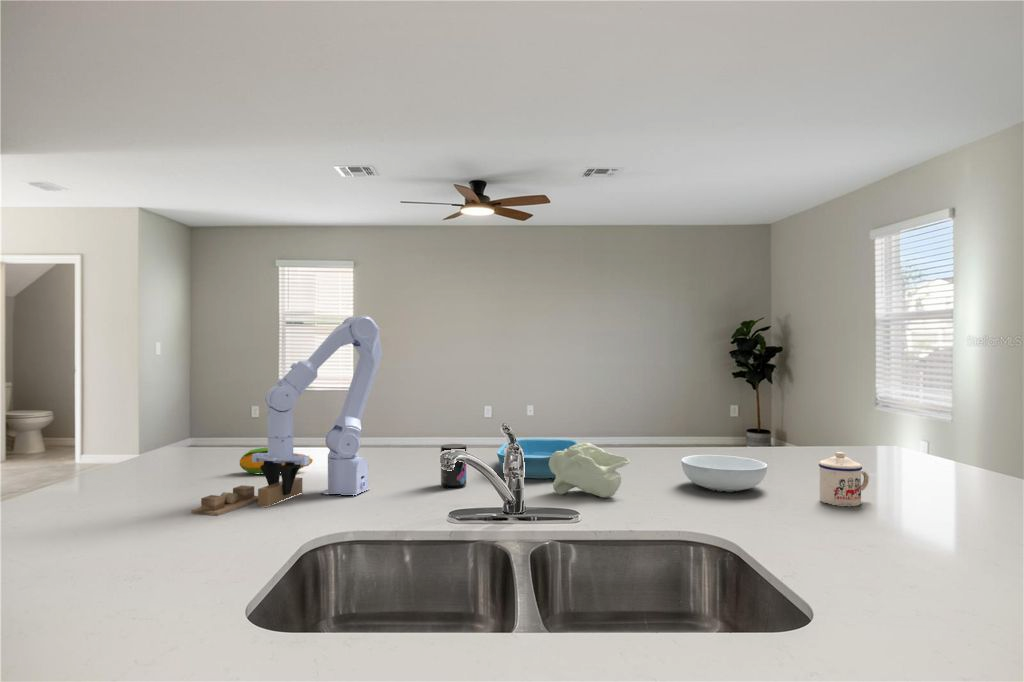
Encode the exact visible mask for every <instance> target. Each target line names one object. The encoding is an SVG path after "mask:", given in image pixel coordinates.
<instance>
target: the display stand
mask: <svg viewBox="0 0 1024 682" xmlns="http://www.w3.org/2000/svg"><path fill="white" fill-rule="evenodd" d="M200 499H201V500H200V503H201V504H200V507H197V508H194V509H192V510H191V514H199V515H200V514H201V515H211V516H220V515H222V514H225V512H226V513H229V512H231V511H234V510H236V509H235V508H237V509H239V508H238V507H240V508H242V507H245V506H247V505H246V504H248V505H250V504H249V503H251V502H253V503H255V502H254V501H256V502H258V501H257V500H258V495H255V486H253V485H239V486H235V487H233V488H232V492H225V491H224V492H222V493H220V495H216V494H215V495H213V494H211V495H208V496H204V497H201V498H200ZM251 504H252V503H251ZM244 505H245V506H244ZM241 506H242V507H241ZM233 509H234V510H233ZM230 510H231V511H230ZM228 511H229V512H228Z"/></svg>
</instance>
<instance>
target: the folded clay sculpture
mask: <svg viewBox="0 0 1024 682" xmlns="http://www.w3.org/2000/svg"><path fill="white" fill-rule="evenodd" d="M630 463H631V461H630V459H628V458H627V457H625V456H622V455H618V454H614V453H610V452H608V451H606V450H604V449H602V448H600V447H598V446H596V445H595V444H592V443H590V442H580V443H579V442H578V444H576V445H573V446H570V447H569V449H568V450H567V449H564V450H563V451H556V452H555V453H553V454H552V455H551V458H550V460H549V467H550V469H551V472H553V473H554V474H555V475H556V478H554V480H553V485H552V486H553V490H554V492H555V493H556V494H557V495H559V494H562V495H565V494H566V493H568V492H569V491H570V490H571V489H574V488H577V489H579V490H581V491H583V492H584V493H586V494H592V495H594V496H598V497H599V498H603V499H604V498H606V499H607V498H610V497H613V496H614V495H616V492H617V491H618V490H619V488H620V486H621V484H622V475H621V474H620V473H619V472H618V471H617V469H620V468H623V467H626V466H627V465H629V464H630Z"/></svg>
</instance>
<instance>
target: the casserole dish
mask: <svg viewBox="0 0 1024 682" xmlns="http://www.w3.org/2000/svg"><path fill="white" fill-rule="evenodd" d="M516 440H517V442H518V444H519V445H520V446H521V448H522V449H523V452H524V455H523V457H524V462H525V478H524V479H527V478H526V477H530V478H529V479H549V478H552V479H556V475H555V474H554V473H553V472H551V469H550V467H549V460H550V458H551V455H552V454H553V453H555V452H556V451H563V450H564V449H567V450H568V449H569V447H570V446H573V445H576V444H579V442H578V441H577V440H574V439H569V438H568V439H565V438H553V437H552V438H551V437H550V438H546V437H545V438H541V437H539V438H538V437H537V438H536V437H535V438H532V437H531V438H516ZM507 444H508V441H506V442H505V443H504V444H503V445H501V446H500V448H499V449H498V450H497V451H496V454H497V458H498V462H499V465H500V468H501V470H502V471H503V463H504V457H505V453H504V449H503V448H505V447H506V446H507Z"/></svg>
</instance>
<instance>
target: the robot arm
mask: <svg viewBox="0 0 1024 682" xmlns="http://www.w3.org/2000/svg"><path fill="white" fill-rule="evenodd" d="M350 344H351V345H353V347H354V349H355V350H356V352H357V354H358V355H359V358H358V359H357V363H356V367H355V369H354V373H353V376H352V379H351V382H350V385H349V388H348V391H347V394H346V397H345V399H344V402H343V406H342V409H341V412H340V415H339V416H338V417H336V418H337V419H336V420H335V421H334V423H333V426H332V428H331V429H330V430H329V431H328V432H327V433H326V436H325V440H324V441H325V445H326V447H327V449H328V450H329V452H328V454H327V488H326V489H325V490H321V491H320V494H321V493H328V494H327V495H329V494H341V495H353V496H352V497H355V496H354V495H356V496H358V495H357V494H359V493H361V492H363V493H365V492H367V491H369V490H368V489H371V488H370V487H369V463H368V460H367V458H365V457H360V456H359V455H358V452H359V450H360V449H361V443H362V442H361V433H362V424H361V421H362V417H363V414H364V411H365V408H366V404H367V402H368V399H369V396H370V393H371V389H372V387H373V383H374V381H375V378H376V373H377V371H378V368H379V365H380V362H381V359H382V357H383V356H382V355H383V351H382V346H381V340H380V328H379V326H378V325H377V324H376V322H375V321H374V319H373V318H372V317H370V316H368V315H359V316H349V317H347V318H345V319H344V320H343V322H342V323H339V324H338V325H337V326H336V327H335V328H333V331H332V332H330V334H329V335H328V336H327V337H325V339H324V341H323V342H322V343H321V344H320V345H319V346H318V347H317V349H316V350H315V351H313V353H312V354H311V355H310V357H309V358H308V359H307V360H299V361H297V363H294V362H293V363H292V364H291V365H290V367H289V368H291V369H290V370H289V371H288V372H287V373H286V374H285V375H284V376H283V377H282V378H281V379H280V378H279V379H277V381H276V384H278V385H274V386H272V387H271V388H269V390H267V392H266V396H265V397H264V401H265V403H266V405H267V406H268V408H267V412H268V413H267V414H268V416H267V448H268V453H255V454H252V462H264V464H263V465H261V466H260V469H261V470H262V472H263V473H264V474H263V475H264V477H265V480H266V482H267V484H268V485H271V484H274V483H277V482H280V478H281V481H282V491H283V495H288V494H291V490H292V486H293V482H294V479H295V477H296V476H297V474H298V473H299V470H301V469H300V467H301V465H304V466H305V465H308V464H310V458H311V457H310V455H306V456H304V455H305V454H304V455H299V454H300V453H297V454H293V453H294V416H293V415H294V414H293V413H294V410H293V409H294V407H295V405H296V404H297V399H298V398H297V397H301V395H302V394H303V393H304V391H306V389H307V388H309V386H310V385H311V384H312V383H313V382H314V381H315V380H316V379H317V378H318V369H320V367H322V365H323V364H324V363H326V362H327V360H329V358H331V356H332V355H334V354H335V352H336V351H338V350H339V349H340V348H341V347H344V346H347V345H350ZM282 463H284V464H285V465H282ZM310 465H311V464H310ZM305 467H306V466H305ZM280 472H281V474H280ZM280 476H281V477H280ZM268 485H267V486H268ZM366 490H367V491H366ZM364 491H365V492H364ZM361 494H362V493H361ZM341 495H340V496H341ZM359 495H360V494H359Z"/></svg>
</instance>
